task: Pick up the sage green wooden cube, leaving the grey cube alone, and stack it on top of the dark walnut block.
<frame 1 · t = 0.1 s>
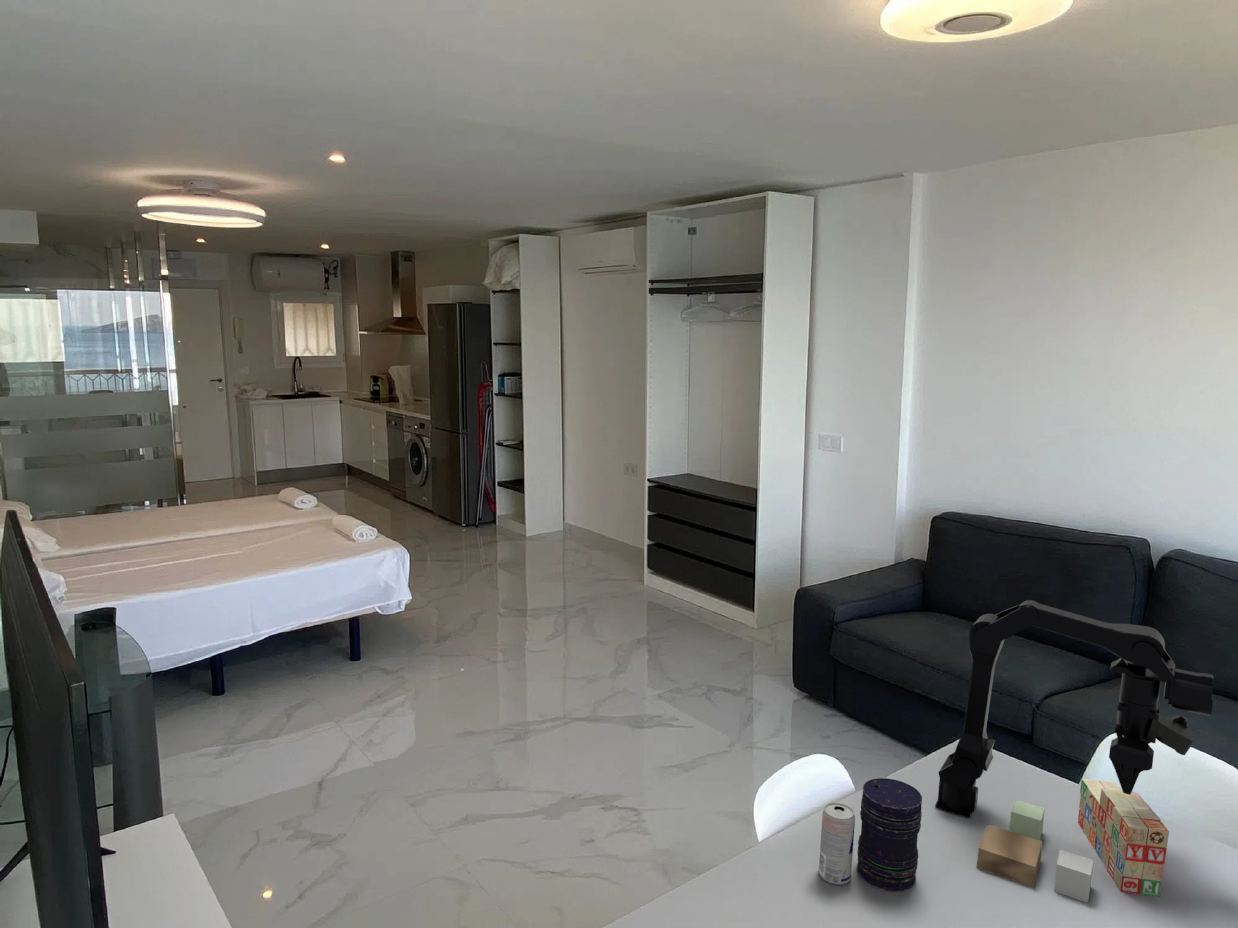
hand: (1128, 782, 145), 15 cm above the table, tool pointing down, fingers open, 9 cm apart
walnut block: (1008, 865, 144), on the table
energy drink: (834, 876, 139), on the table
storage jar: (885, 874, 140), on the table
grey cube: (1072, 889, 138), on the table
stack of blocks: (1115, 858, 147), on the table
sage cube: (1025, 834, 153), on the table
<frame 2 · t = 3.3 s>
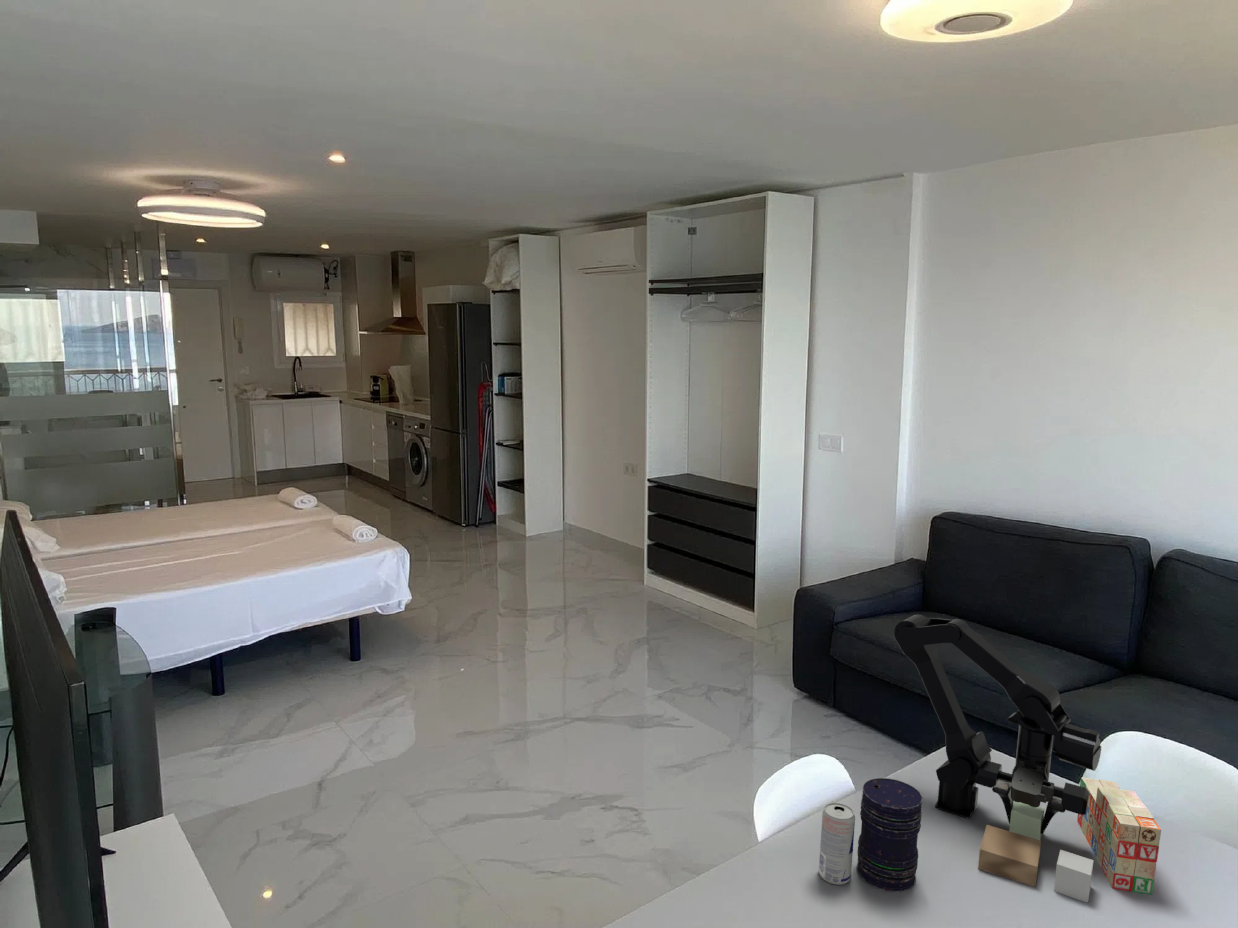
hand: (1026, 827, 153), 1 cm above the table, tool pointing down, fingers closed on sage cube, 5 cm apart
sage cube: (1025, 833, 153), on the table, touching gripper
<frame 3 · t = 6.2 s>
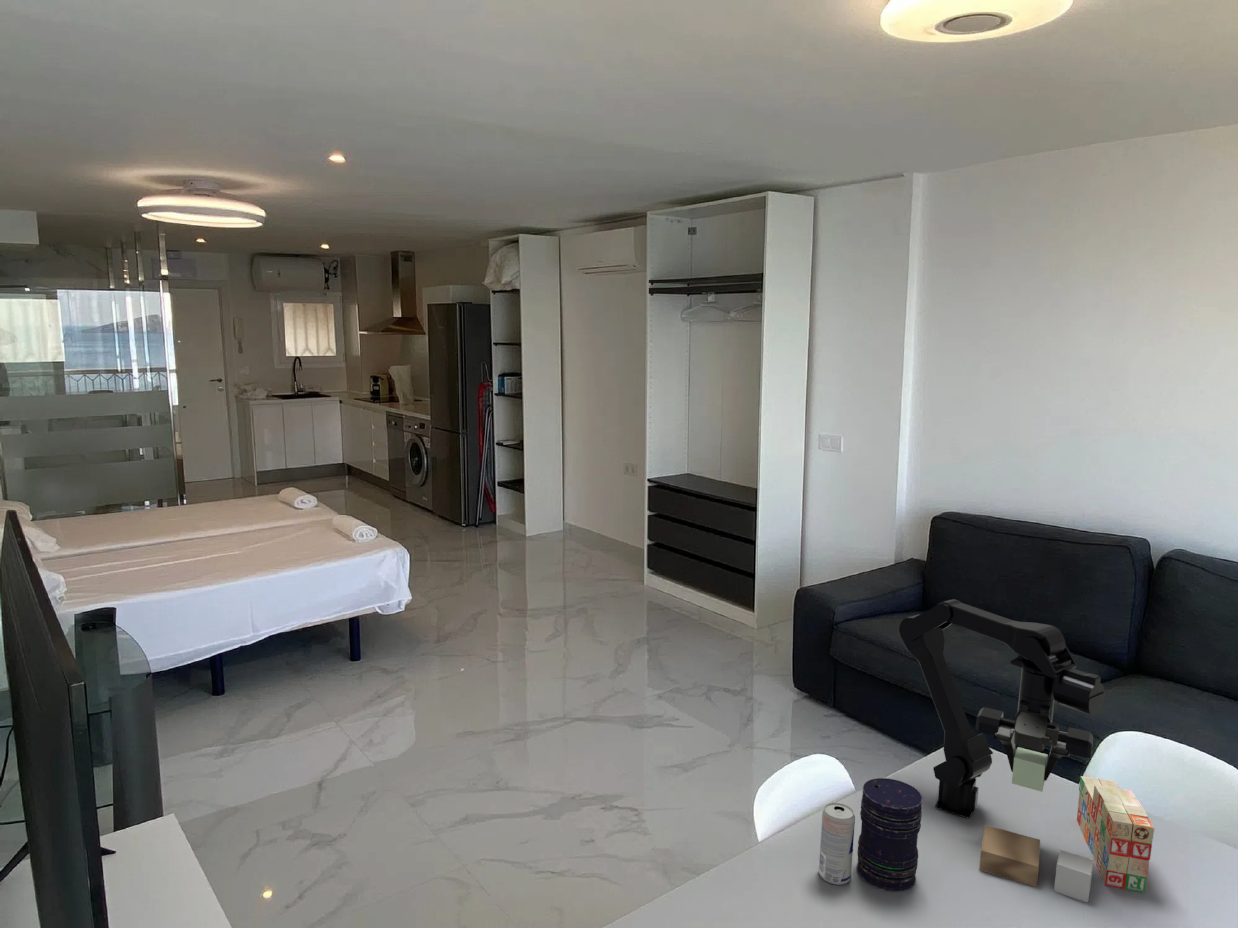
hand: (1028, 775, 149), 13 cm above the table, tool pointing down, fingers closed on sage cube, 5 cm apart
sage cube: (1028, 781, 150), point 12 cm above the table, touching gripper
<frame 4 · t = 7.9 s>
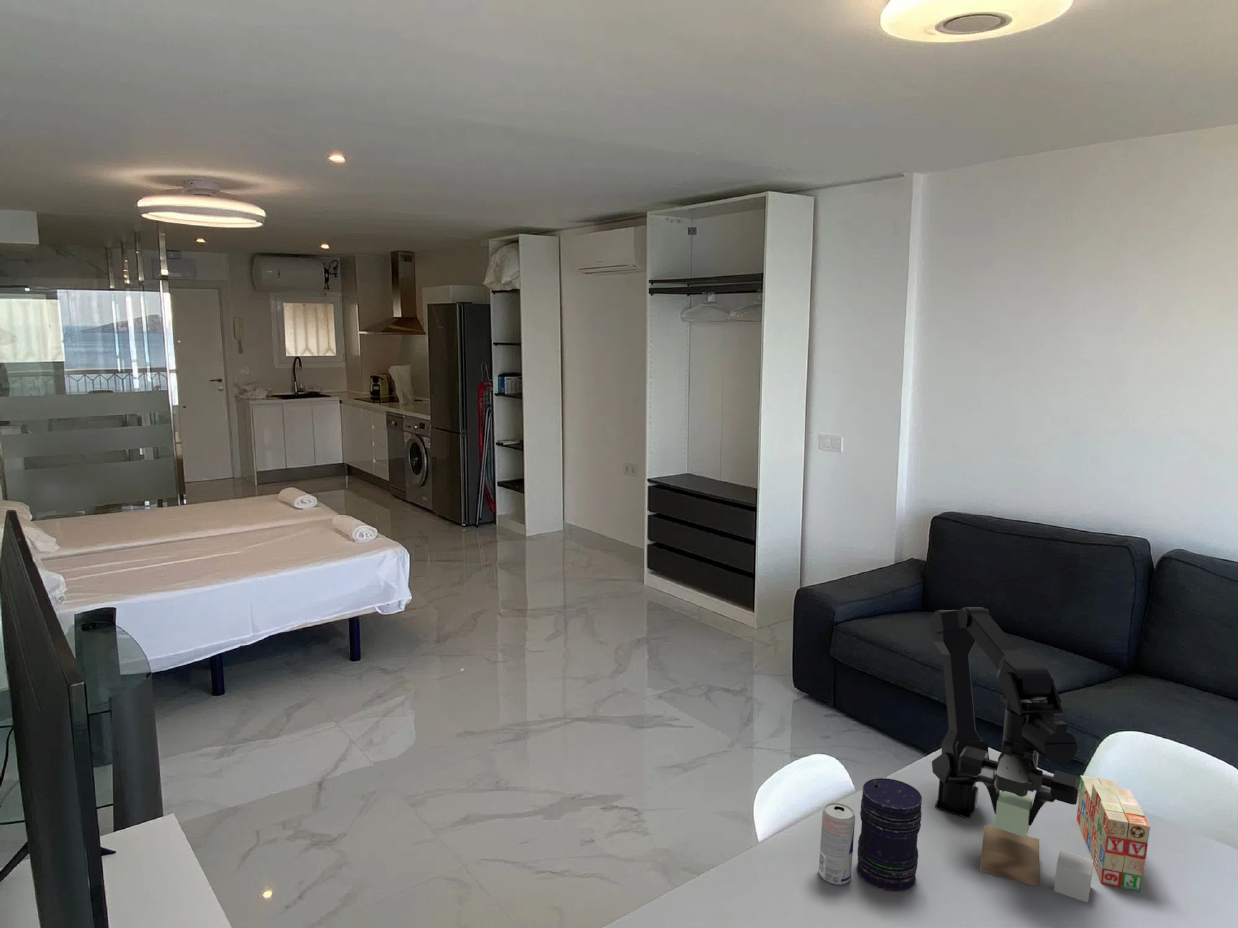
hand: (1013, 818, 143), 8 cm above the table, tool pointing down, fingers closed on sage cube, 5 cm apart
sage cube: (1012, 825, 143), point 7 cm above the table, touching gripper
when the fingers open (6 cm above the table, at t = 9.2 s): sage cube drops 1 cm, resting on walnut block.
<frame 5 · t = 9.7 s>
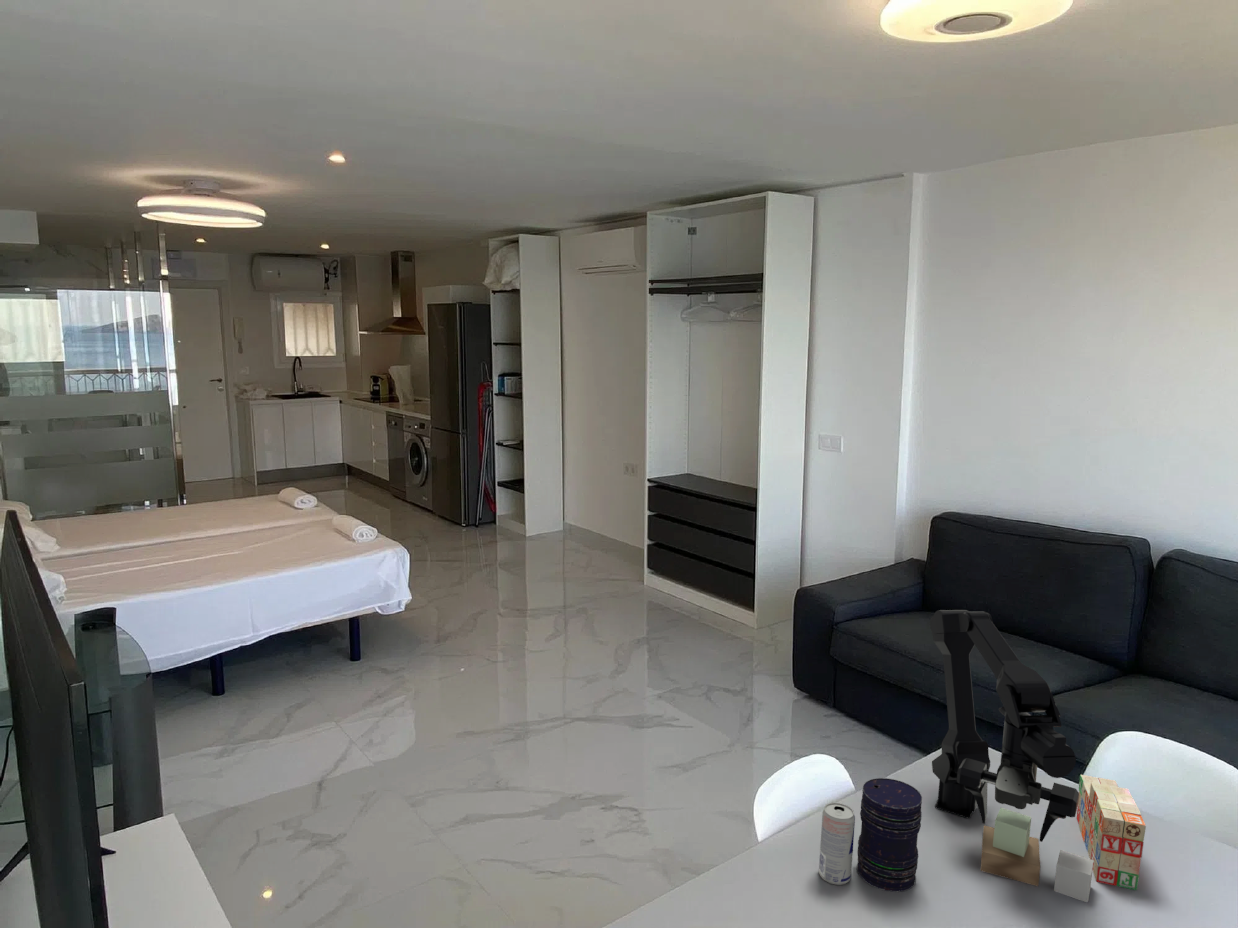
hand: (1012, 831, 143), 6 cm above the table, tool pointing down, fingers open, 9 cm apart
walnut block: (1008, 865, 144), on the table, touching sage cube
sage cube: (1010, 844, 144), point 4 cm above the table, touching walnut block
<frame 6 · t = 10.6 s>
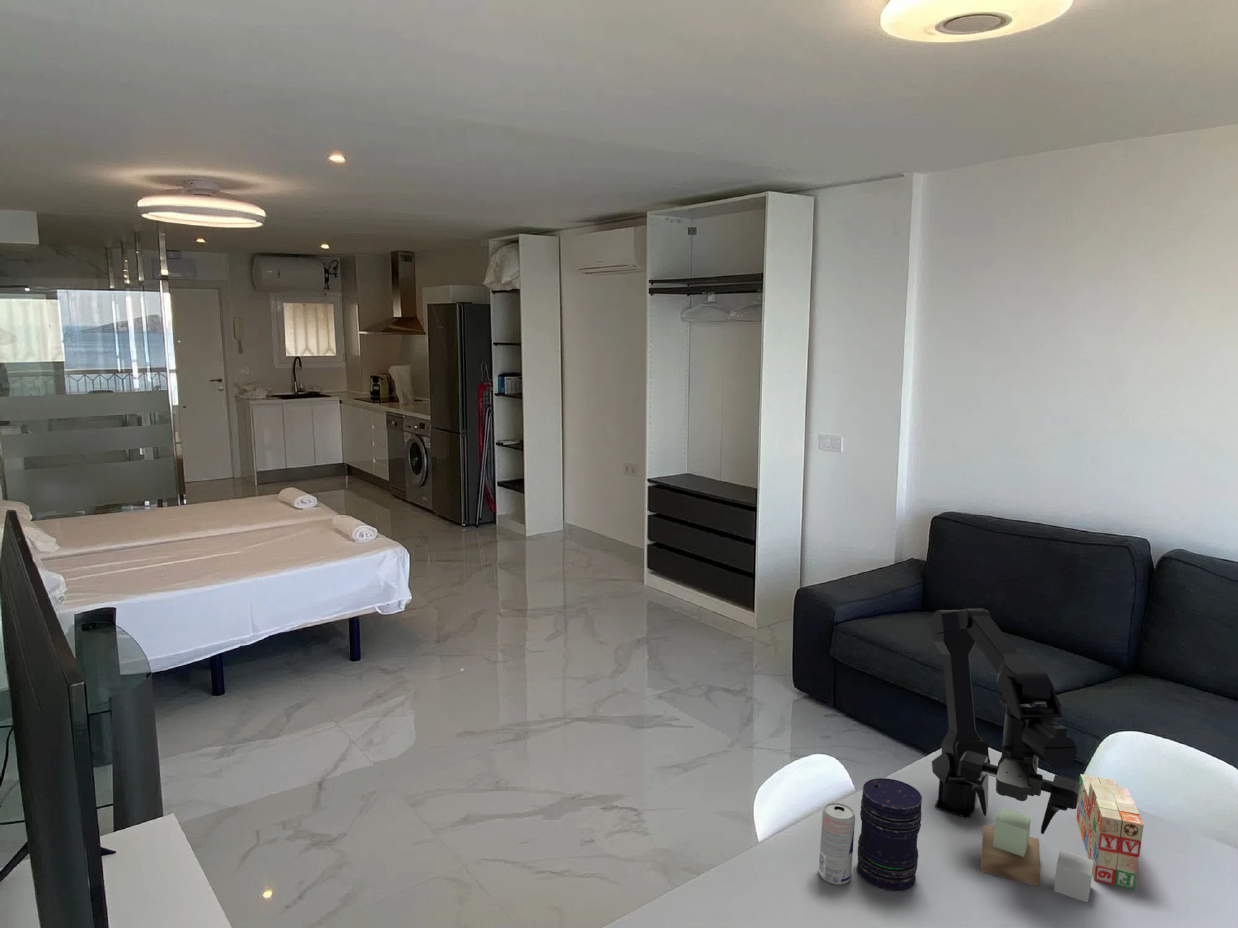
hand: (1013, 823, 143), 8 cm above the table, tool pointing down, fingers open, 9 cm apart
walnut block: (1008, 865, 144), on the table
sage cube: (1010, 844, 144), point 4 cm above the table
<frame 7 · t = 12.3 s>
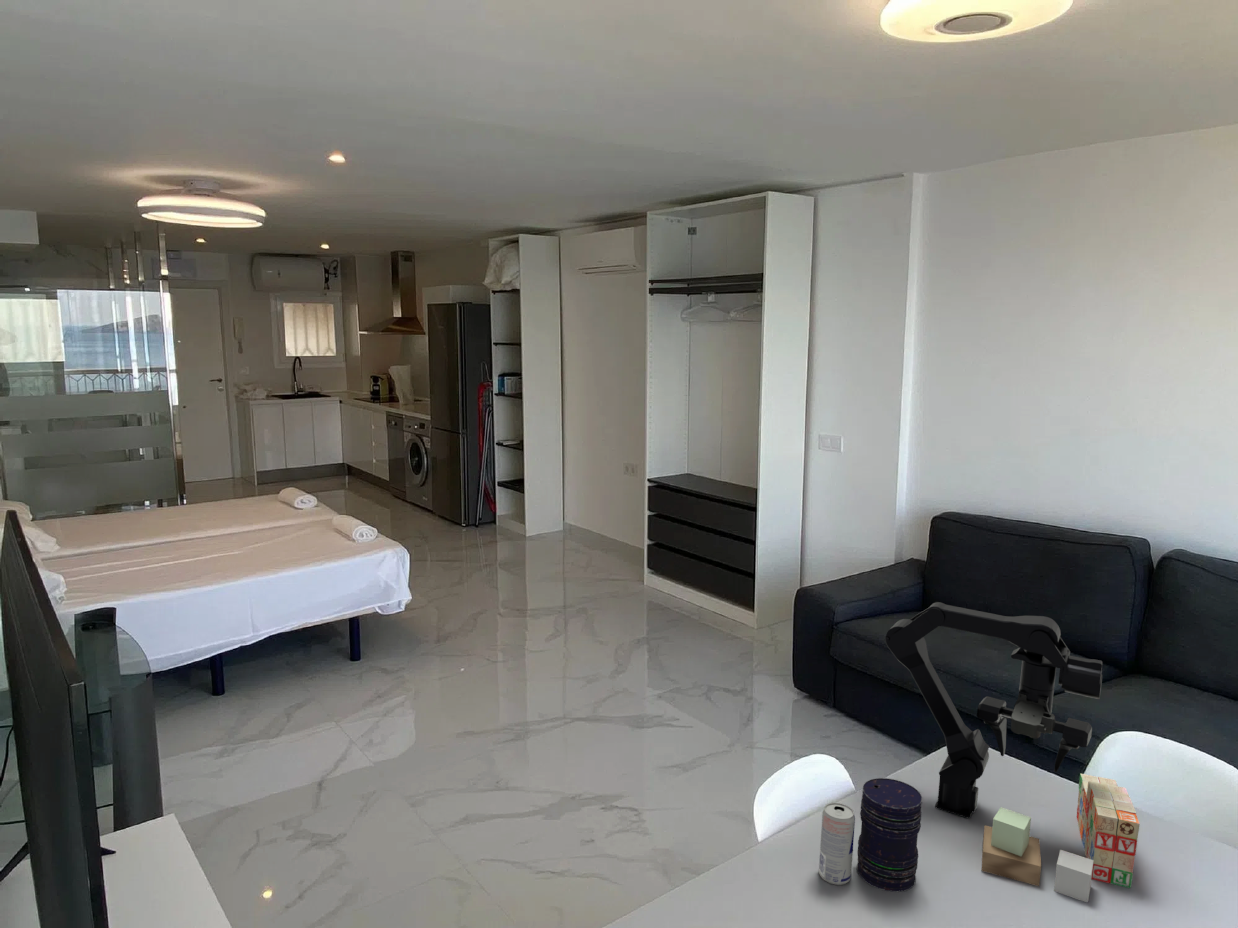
hand: (1028, 763, 154), 13 cm above the table, tool pointing down, fingers open, 9 cm apart
walnut block: (1009, 865, 144), on the table, touching sage cube
sage cube: (1009, 844, 144), point 4 cm above the table, touching walnut block
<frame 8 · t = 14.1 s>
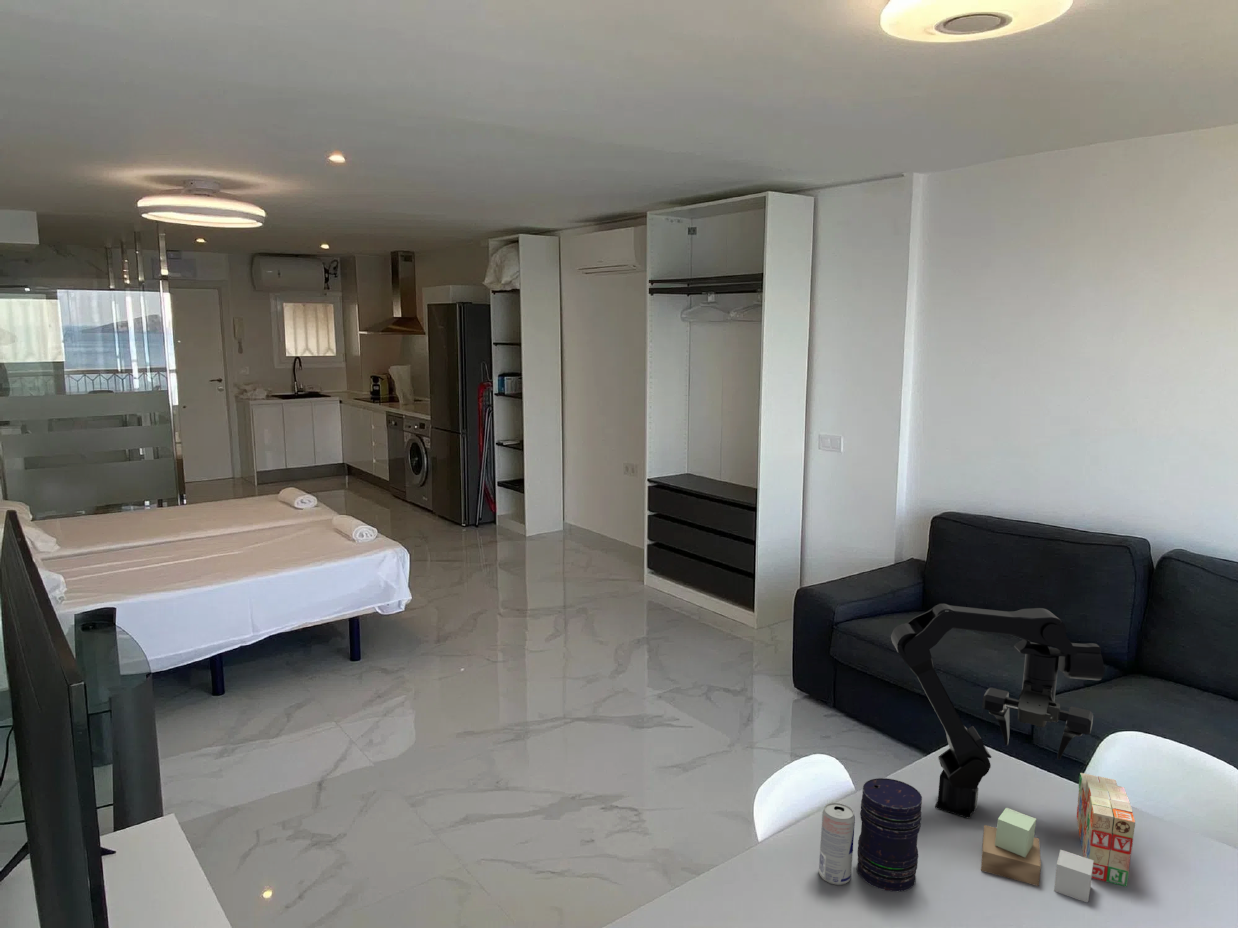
hand: (1032, 751, 159), 13 cm above the table, tool pointing down, fingers open, 9 cm apart
walnut block: (1009, 865, 144), on the table
sage cube: (1013, 844, 143), point 4 cm above the table
at the end: sage cube 0.4 cm off-centre on the walnut block, point 4.1 cm above the walnut block's base; sage cube tilted 1°; the gripper is holding nothing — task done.
